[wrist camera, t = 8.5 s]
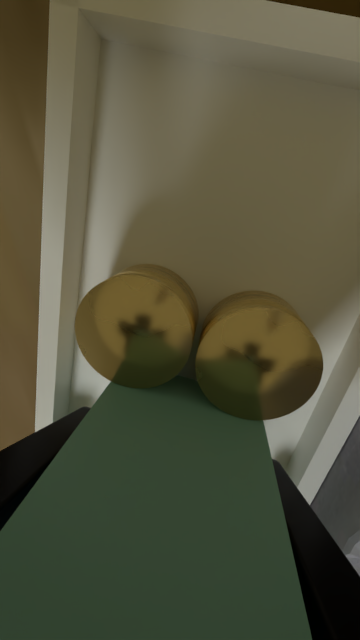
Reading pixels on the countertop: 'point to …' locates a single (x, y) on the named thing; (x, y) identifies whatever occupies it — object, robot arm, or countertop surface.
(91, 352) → the chip
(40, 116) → the countertop surface
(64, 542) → the mint green brick
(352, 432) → the stone block
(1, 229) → the countertop surface
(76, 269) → the chip tray
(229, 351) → the chip
